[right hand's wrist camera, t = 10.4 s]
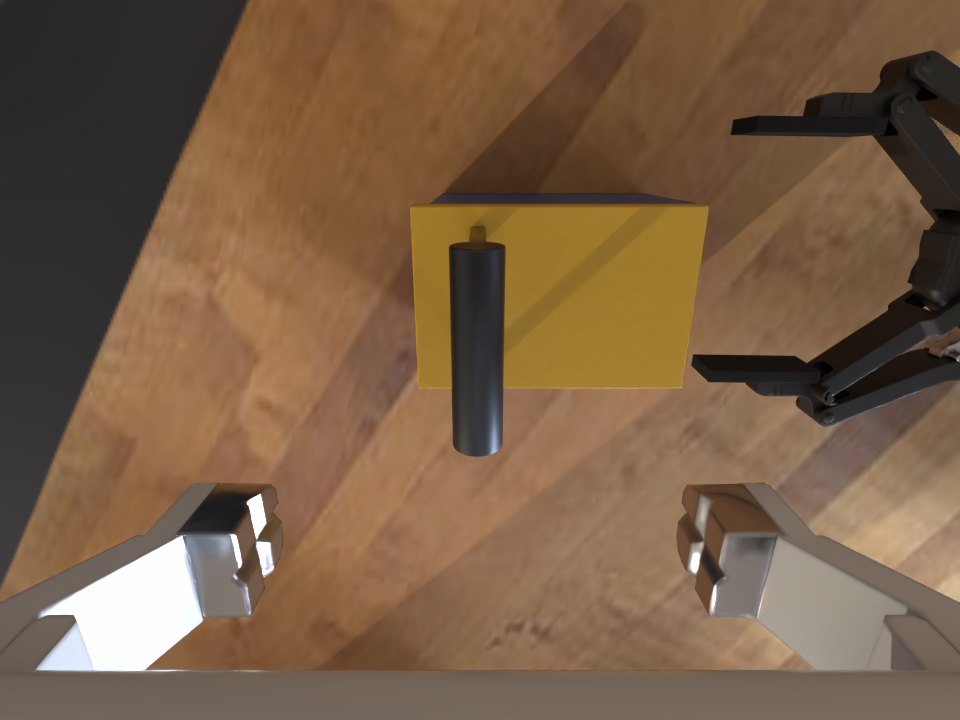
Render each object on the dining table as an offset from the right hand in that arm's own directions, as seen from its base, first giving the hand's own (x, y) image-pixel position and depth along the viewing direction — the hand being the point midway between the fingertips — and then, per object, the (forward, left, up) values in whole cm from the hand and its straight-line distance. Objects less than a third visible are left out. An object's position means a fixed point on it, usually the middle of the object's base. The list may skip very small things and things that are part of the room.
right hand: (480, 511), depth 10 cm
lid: (-2, -3, -18) cm, 18 cm away
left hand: (-5, -13, -21) cm, 25 cm away
